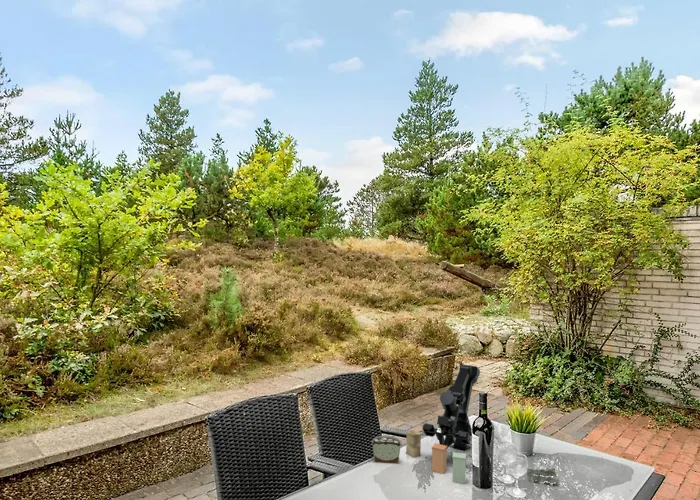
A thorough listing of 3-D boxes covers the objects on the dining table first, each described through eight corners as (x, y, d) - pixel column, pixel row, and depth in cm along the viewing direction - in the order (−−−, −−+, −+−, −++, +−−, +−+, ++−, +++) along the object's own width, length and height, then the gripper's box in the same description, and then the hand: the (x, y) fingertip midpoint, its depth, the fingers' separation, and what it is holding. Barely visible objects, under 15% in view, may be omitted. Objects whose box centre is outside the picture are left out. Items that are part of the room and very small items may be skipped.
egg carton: (556, 479, 174) (556, 468, 175) (556, 488, 167) (557, 476, 168) (526, 473, 179) (526, 463, 179) (525, 481, 172) (526, 470, 172)
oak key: (414, 451, 193) (414, 430, 194) (420, 455, 189) (421, 433, 189) (405, 453, 192) (406, 431, 192) (412, 457, 187) (412, 435, 188)
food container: (401, 460, 187) (401, 436, 188) (401, 467, 181) (402, 441, 181) (371, 458, 188) (372, 434, 189) (370, 465, 182) (371, 440, 183)
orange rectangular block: (434, 466, 179) (435, 443, 180) (446, 469, 177) (447, 445, 177) (431, 470, 176) (431, 447, 176) (443, 473, 173) (443, 449, 174)
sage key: (452, 476, 171) (452, 452, 171) (465, 478, 170) (466, 453, 170) (452, 481, 167) (452, 456, 167) (465, 483, 166) (465, 458, 166)
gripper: (424, 403, 188) (413, 438, 178) (469, 411, 179) (461, 449, 169) (430, 417, 195) (420, 452, 185) (473, 425, 186) (466, 463, 176)
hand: (441, 453), depth 178 cm, fingers closed, pressing on orange rectangular block
